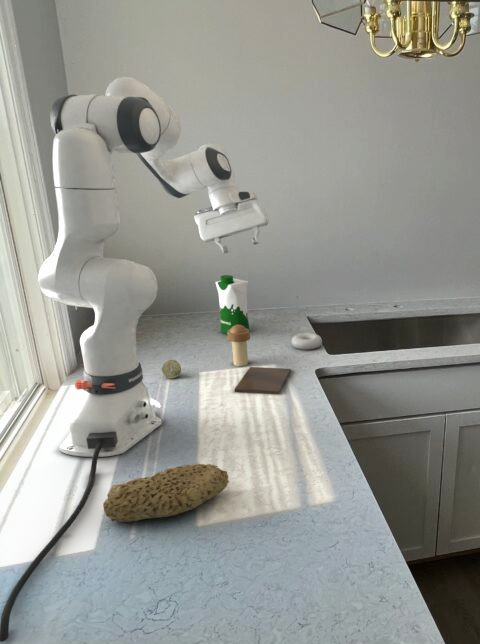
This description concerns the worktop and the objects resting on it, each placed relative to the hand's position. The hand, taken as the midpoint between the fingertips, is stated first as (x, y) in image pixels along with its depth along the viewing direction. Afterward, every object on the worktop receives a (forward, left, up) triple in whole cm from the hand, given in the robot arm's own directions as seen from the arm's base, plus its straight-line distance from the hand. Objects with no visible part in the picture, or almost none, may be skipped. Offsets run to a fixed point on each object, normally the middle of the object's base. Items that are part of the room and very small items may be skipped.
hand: (241, 248), depth 164 cm
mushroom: (-9, 0, -33) cm, 34 cm away
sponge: (-79, -7, -33) cm, 86 cm away
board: (-21, -10, -33) cm, 41 cm away
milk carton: (+20, +10, -33) cm, 40 cm away
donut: (+9, -17, -33) cm, 38 cm away
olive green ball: (-21, +16, -33) cm, 42 cm away
